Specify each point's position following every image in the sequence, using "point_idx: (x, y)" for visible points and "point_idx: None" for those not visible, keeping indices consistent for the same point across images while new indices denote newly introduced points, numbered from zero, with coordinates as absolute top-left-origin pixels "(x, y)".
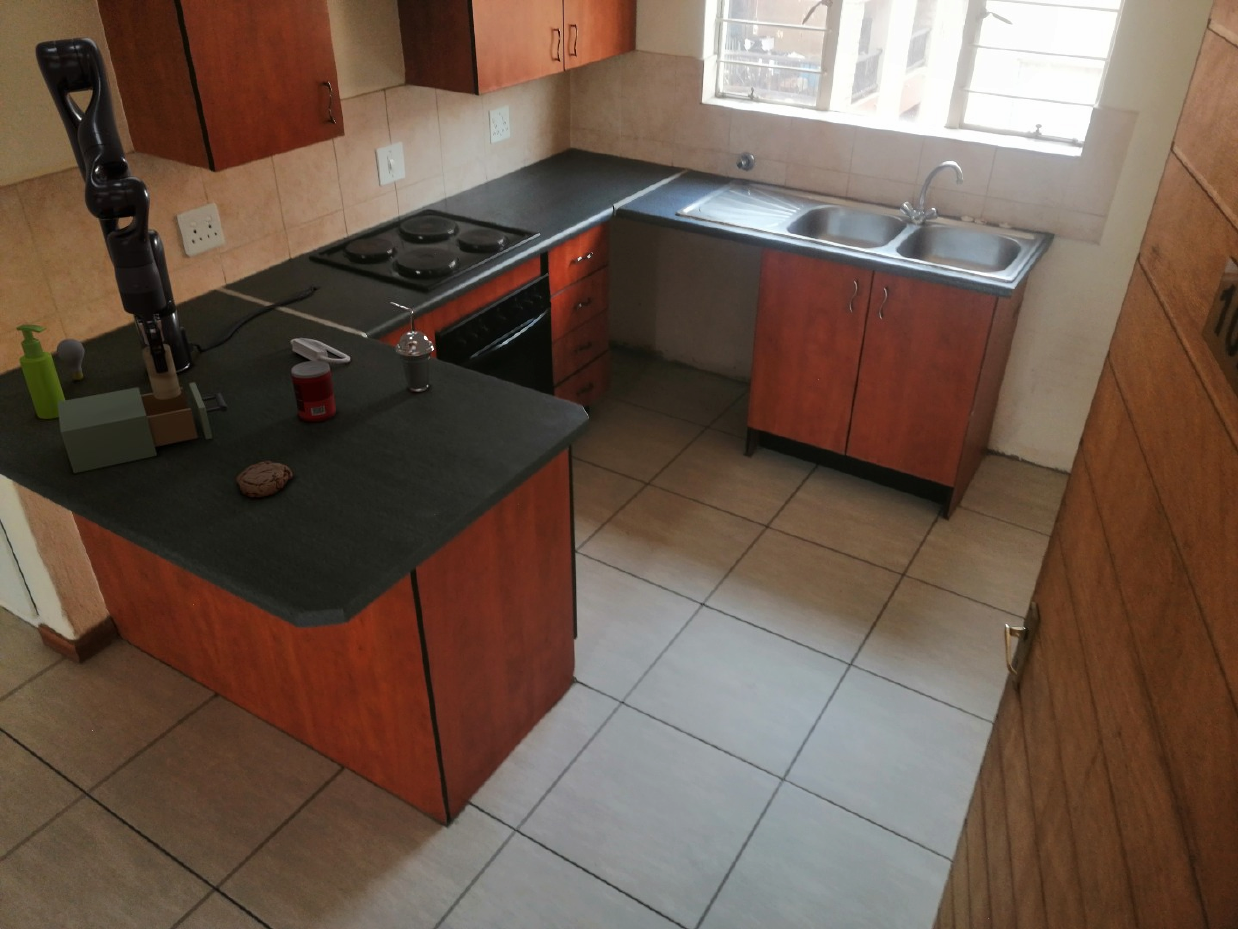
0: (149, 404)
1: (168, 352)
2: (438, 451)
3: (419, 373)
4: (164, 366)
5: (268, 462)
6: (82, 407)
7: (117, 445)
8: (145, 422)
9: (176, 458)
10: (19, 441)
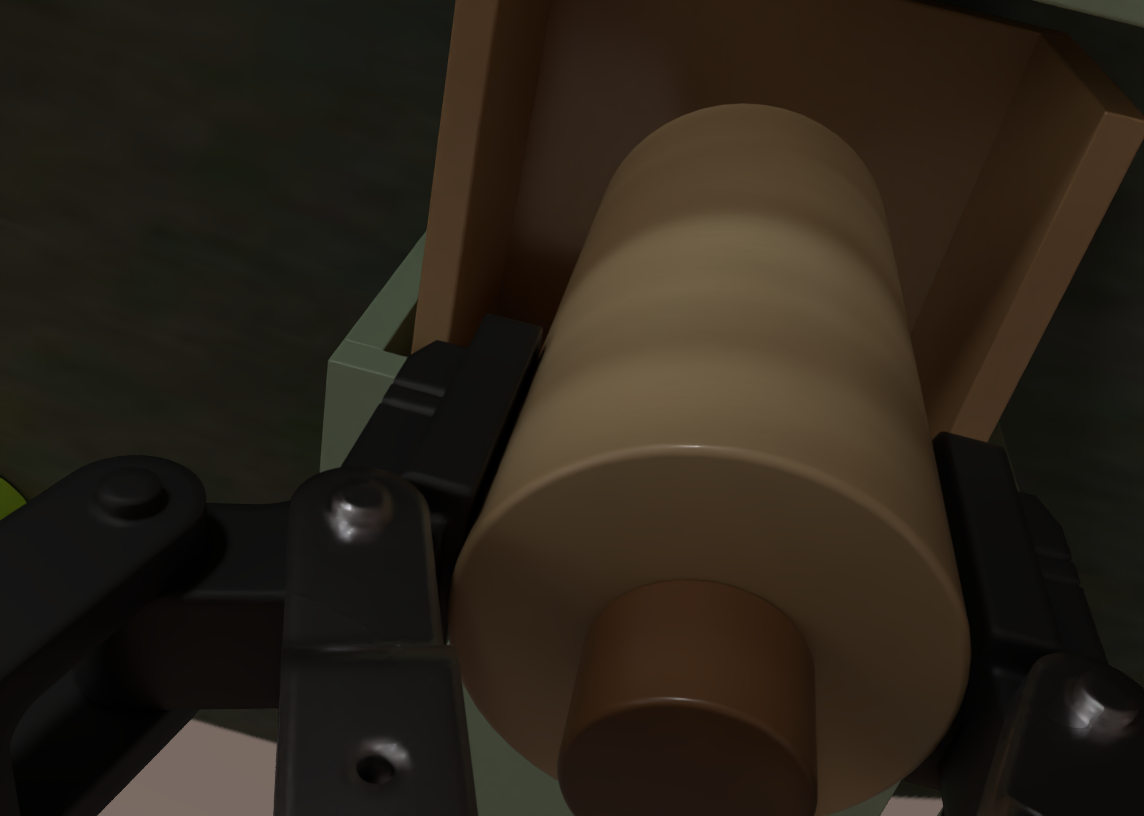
0: (480, 269)
1: (919, 507)
2: None
3: None
4: (1066, 560)
5: None
6: (490, 752)
7: None
8: None
9: (1139, 257)
10: (253, 711)
